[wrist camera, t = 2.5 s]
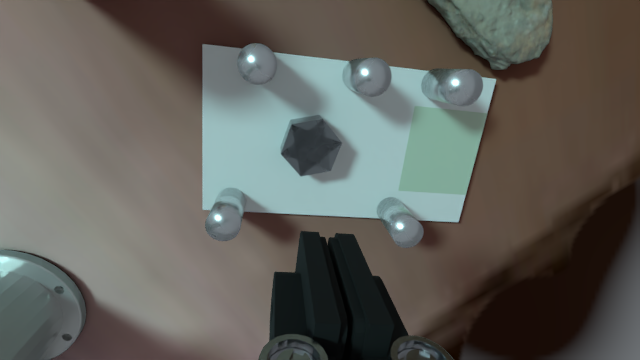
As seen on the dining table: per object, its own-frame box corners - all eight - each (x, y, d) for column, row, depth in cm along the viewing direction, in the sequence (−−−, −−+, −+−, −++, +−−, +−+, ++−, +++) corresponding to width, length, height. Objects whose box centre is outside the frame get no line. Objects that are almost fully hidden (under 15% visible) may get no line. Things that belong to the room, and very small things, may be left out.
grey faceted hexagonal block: (340, 160, 30) (345, 168, 28) (285, 170, 30) (285, 179, 28) (333, 112, 29) (338, 116, 27) (275, 122, 29) (275, 127, 26)
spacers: (418, 223, 33) (441, 248, 29) (216, 213, 31) (205, 240, 26) (452, 70, 29) (487, 71, 24) (218, 41, 26) (205, 36, 21)
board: (453, 218, 35) (458, 222, 34) (204, 205, 31) (202, 209, 30) (489, 78, 31) (496, 79, 30) (205, 44, 27) (202, 43, 26)
